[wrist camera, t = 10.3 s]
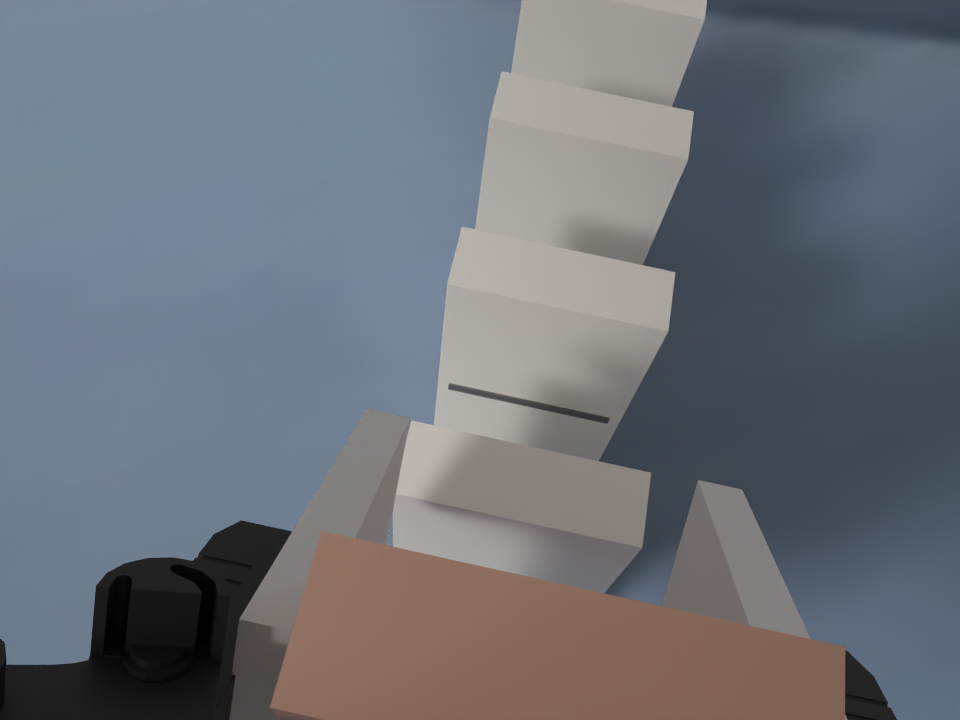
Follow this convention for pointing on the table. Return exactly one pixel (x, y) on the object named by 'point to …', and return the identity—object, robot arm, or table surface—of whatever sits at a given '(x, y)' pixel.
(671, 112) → the domino
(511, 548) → the domino
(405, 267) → the table surface
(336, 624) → the domino
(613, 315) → the domino
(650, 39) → the domino
